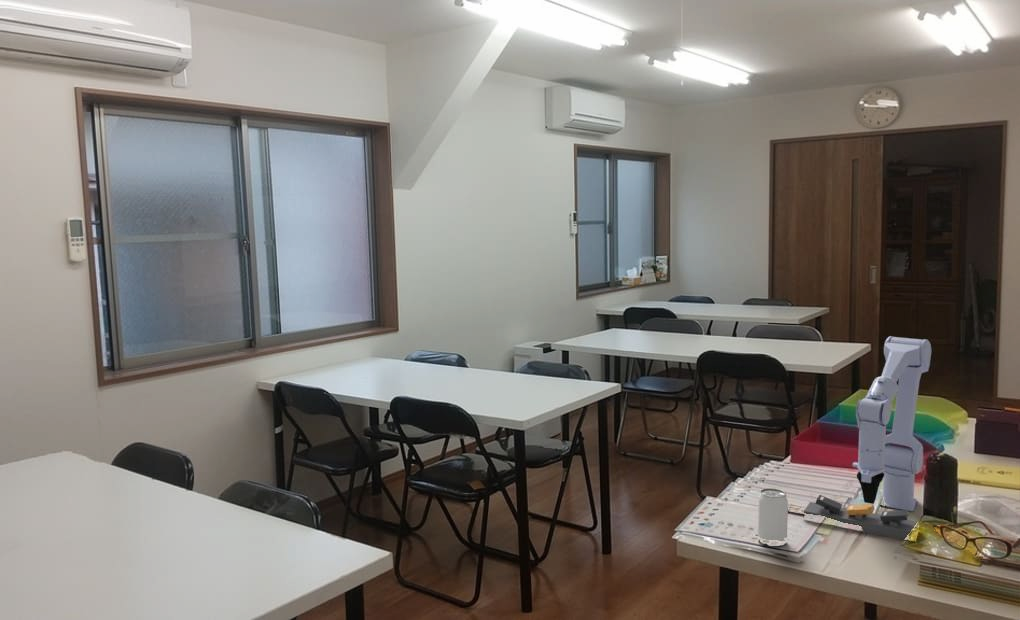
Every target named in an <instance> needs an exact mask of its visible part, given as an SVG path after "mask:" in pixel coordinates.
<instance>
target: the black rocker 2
mask: <svg viewBox="0 0 1020 620" xmlns="http://www.w3.org/2000/svg"><path fill="white" fill-rule="evenodd" d="M880 515H881V516H880V518H881V521H893V522H897V521H904V520H909V511H908V510H888V511H887V510H885V511H883V510H882V511H881V513H880Z"/></svg>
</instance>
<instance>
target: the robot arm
mask: <svg viewBox="0 0 1020 620" xmlns="http://www.w3.org/2000/svg"><path fill="white" fill-rule="evenodd" d="M883 355H884V359H885V363H884V367H883V369H882V373H881V376H878V377H875V379H874V380H873V381H872V384H871V386H870V387H869V390H868V392H867V393H866V395H865V397H863V398H862V399H859V400H858V402H857V404H856V409H855V417H856V422H857V423H856V424H857V428H858V429H859V430H858V451H857V452H858V454H857V455H858V456H857V457H858V458H857V461H858V462H856V461H854V462H852V467H853V468H857V470H858V472H857V474H856V478H857V480H858V482H859V485H860V487H861V492H862V493H861V494H862V497H863V498H862V499H863V502H864V503H867V504H873V505H874V504H875V502H876V499H877V495H878V491H879V487H880V484H881V483H882V496H883V497H884V500H885V503H886V504H885V506H886V508H891V509H897V510H901V511H903V510H908V512H914V509H915V508H916V504H917V500H918V499H917V497H914V496H915V495H914V494H915V478H916V477H915V475H917V474H918V473H920V472H921V471H922V468H923V464H924V447H923V444H922V443H921V442H920V441H919V440H918V439H917V438H916V437H915V436H914V426H915V418H916V411H917V405H918V404H917V403H918V394H919V387H920V380H921V376H922V374H923V373H926V372H929V369H930V365H931V356H932V345H931V343H930V341H929V340H928V339H925V338H924V339H920V338H908V337H900V336H898V337H897V336H891V335H890V336H888V337H887V338H886V340H885V341H884V345H883ZM897 382H898V383H897ZM895 397H896V399H895ZM894 399H895V407H894V408H895V409H894V416H893V421H892V422H893V423H892V429H891V430H892V431H891V433H889V434H887V435H886V433H887V425H888V424H889V422H890V419H891V414H892V410H893V404H892V403H893V401H894ZM898 445H899V446H898ZM904 446H905V447H904ZM885 506H884V507H885Z"/></svg>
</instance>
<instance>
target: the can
mask: <svg viewBox="0 0 1020 620" xmlns="http://www.w3.org/2000/svg"><path fill="white" fill-rule="evenodd" d="M757 508H758V509H757V511H758V513H757V514H758V515H757V516H758V517H757V521H758V522H757V537H758V536H759V537H760V538H762V539H766V540H782V539H784V538H786V537H787V538H788V515H789V512H788V508H789V500H788V498H787V493H786V492H785V491H784V490H782V489H777V488H763V489H761V490H760V494H759V496H758V507H757Z"/></svg>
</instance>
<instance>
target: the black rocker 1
mask: <svg viewBox="0 0 1020 620" xmlns="http://www.w3.org/2000/svg"><path fill="white" fill-rule="evenodd" d="M814 503H815V504H818V505H820V506H822V507H824V509H828V510H832V511H834V512H836V513H839V511H840V510H841V508H843V503H840V502H837V501H836V500H835V499H834V500H833V499H832V498H829V497H826V496H824V495H822V494H819V495H818V497H817V498H816V501H815V502H814Z"/></svg>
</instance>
